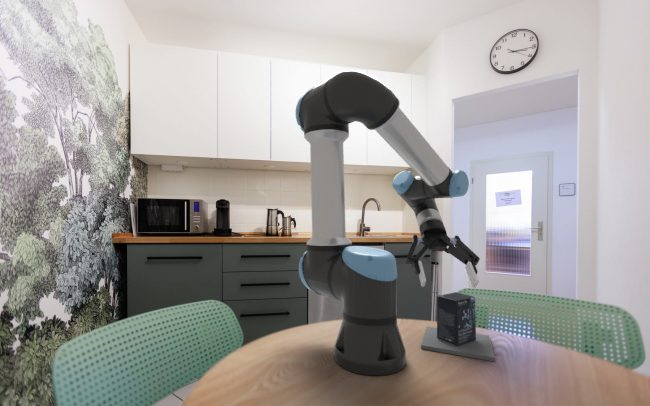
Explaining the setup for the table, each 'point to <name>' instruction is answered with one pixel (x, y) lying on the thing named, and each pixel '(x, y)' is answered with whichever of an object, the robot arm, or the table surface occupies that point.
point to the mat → (473, 349)
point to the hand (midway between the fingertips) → (449, 284)
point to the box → (456, 318)
